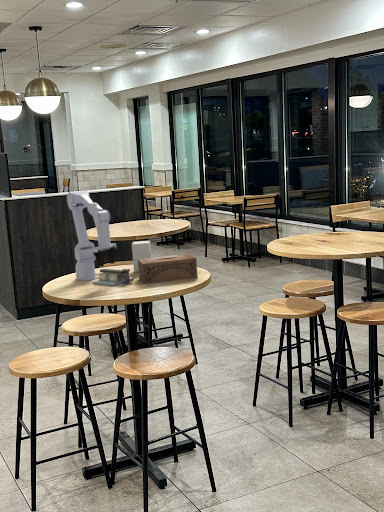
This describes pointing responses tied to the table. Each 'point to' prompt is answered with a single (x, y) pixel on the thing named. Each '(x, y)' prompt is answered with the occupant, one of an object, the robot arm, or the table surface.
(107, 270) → the swing bar
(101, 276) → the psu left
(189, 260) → the tissue box cover
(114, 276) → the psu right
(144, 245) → the supplement box
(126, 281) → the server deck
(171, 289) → the table surface
